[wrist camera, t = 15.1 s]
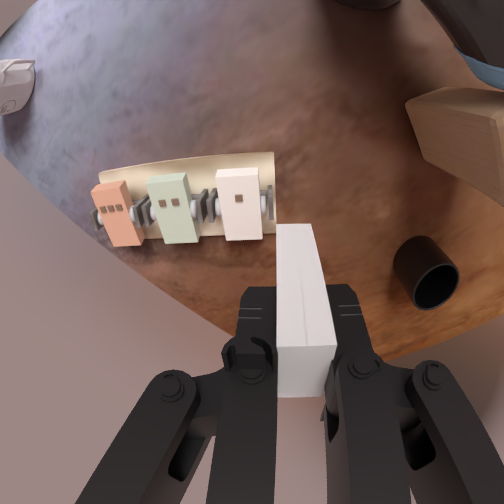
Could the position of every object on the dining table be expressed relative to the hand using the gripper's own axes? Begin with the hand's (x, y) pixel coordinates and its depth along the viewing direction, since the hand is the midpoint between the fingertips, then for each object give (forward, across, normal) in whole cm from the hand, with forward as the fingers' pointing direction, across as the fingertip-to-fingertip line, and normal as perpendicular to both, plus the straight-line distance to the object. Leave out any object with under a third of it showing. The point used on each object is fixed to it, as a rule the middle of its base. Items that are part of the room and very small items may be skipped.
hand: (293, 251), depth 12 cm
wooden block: (+28, +25, +5) cm, 38 cm away
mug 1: (+27, -44, +21) cm, 56 cm away
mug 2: (+28, +26, -20) cm, 43 cm away
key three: (+23, -23, -7) cm, 33 cm away
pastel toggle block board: (+27, -14, -7) cm, 31 cm away
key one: (+23, -5, -7) cm, 25 cm away
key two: (+23, -14, -7) cm, 28 cm away
